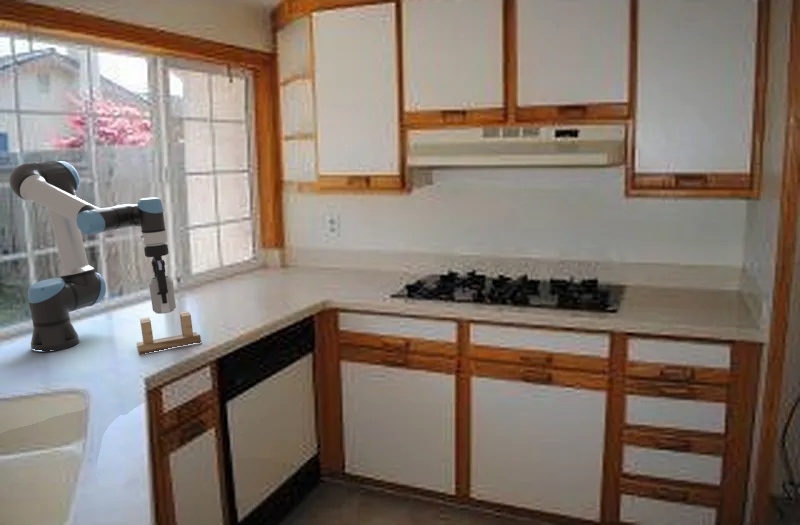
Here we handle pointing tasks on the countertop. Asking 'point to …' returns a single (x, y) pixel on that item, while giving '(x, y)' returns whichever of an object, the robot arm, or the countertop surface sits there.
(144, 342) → the wooden u-shaped stand
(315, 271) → the countertop surface
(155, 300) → the can
